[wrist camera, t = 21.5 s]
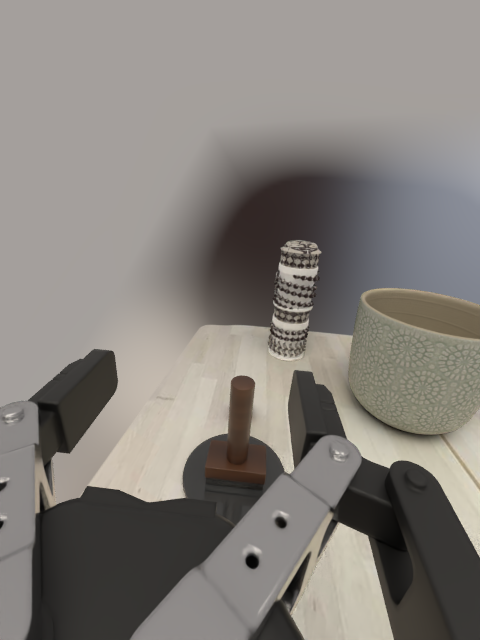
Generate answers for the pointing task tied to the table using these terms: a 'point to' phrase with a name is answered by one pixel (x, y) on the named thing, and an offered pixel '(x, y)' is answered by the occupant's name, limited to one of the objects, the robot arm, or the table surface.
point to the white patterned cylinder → (293, 299)
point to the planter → (416, 359)
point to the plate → (229, 499)
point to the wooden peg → (237, 444)
